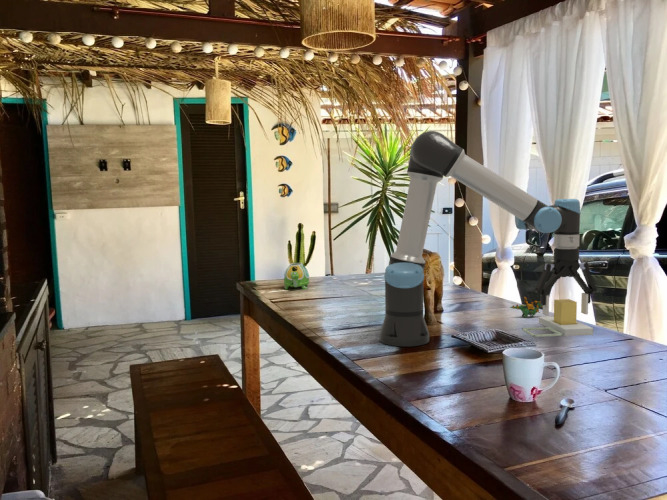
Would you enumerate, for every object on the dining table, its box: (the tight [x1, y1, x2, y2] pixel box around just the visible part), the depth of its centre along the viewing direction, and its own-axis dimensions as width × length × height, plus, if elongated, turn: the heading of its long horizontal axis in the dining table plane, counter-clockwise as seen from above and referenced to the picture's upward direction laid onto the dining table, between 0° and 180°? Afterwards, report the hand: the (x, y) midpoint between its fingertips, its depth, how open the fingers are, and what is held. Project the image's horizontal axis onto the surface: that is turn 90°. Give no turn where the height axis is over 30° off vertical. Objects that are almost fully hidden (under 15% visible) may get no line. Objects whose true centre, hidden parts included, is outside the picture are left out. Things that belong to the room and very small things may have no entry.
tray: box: [521, 326, 564, 338], centre depth 182 cm, size 9×9×2 cm
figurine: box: [509, 296, 543, 319], centre depth 203 cm, size 3×12×8 cm, turn 95°
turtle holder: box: [283, 262, 310, 290], centre depth 278 cm, size 12×18×12 cm
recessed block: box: [538, 315, 594, 337], centre depth 186 cm, size 9×18×3 cm, turn 5°
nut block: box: [553, 298, 578, 325], centre depth 186 cm, size 5×5×9 cm
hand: (565, 314), depth 186 cm, fingers open, 12 cm apart
